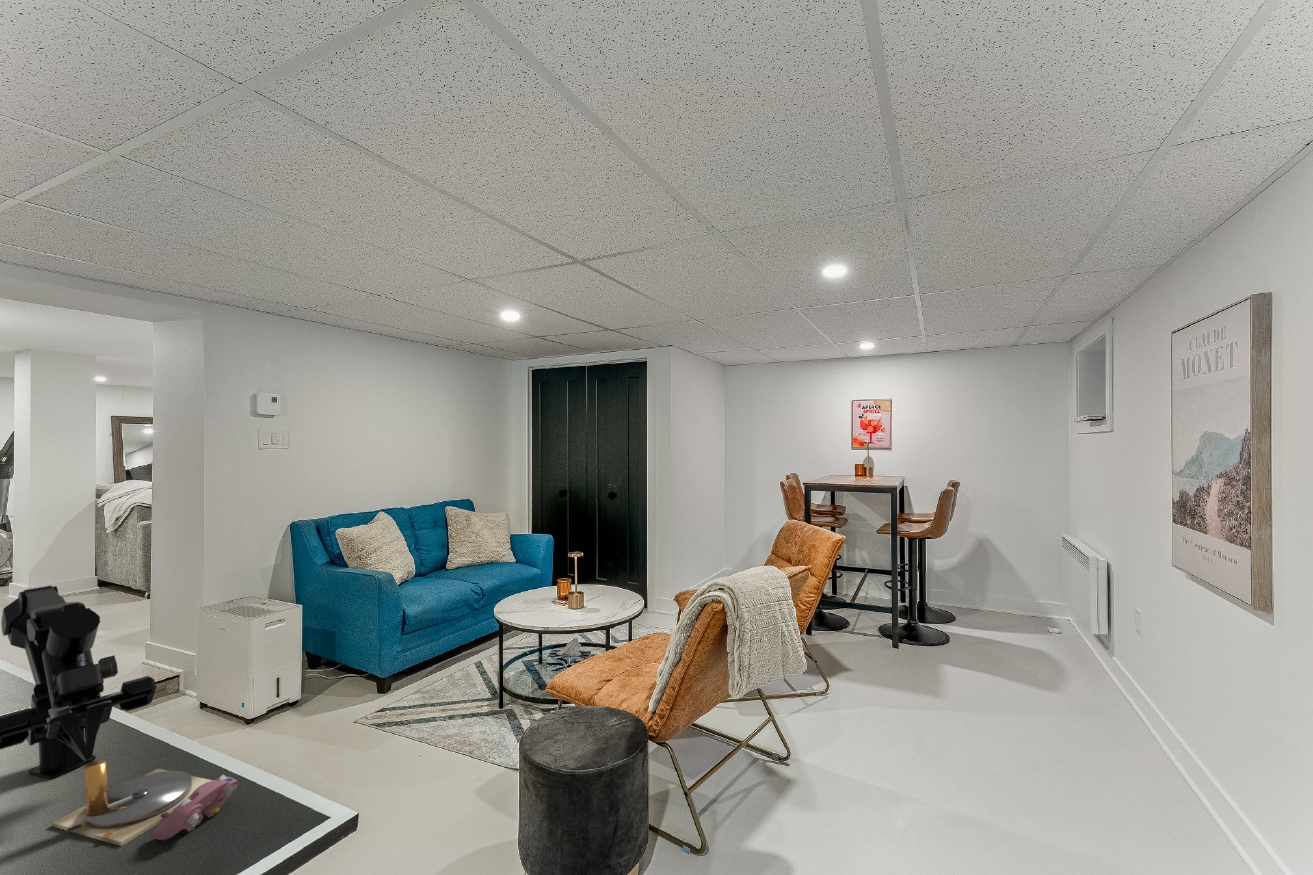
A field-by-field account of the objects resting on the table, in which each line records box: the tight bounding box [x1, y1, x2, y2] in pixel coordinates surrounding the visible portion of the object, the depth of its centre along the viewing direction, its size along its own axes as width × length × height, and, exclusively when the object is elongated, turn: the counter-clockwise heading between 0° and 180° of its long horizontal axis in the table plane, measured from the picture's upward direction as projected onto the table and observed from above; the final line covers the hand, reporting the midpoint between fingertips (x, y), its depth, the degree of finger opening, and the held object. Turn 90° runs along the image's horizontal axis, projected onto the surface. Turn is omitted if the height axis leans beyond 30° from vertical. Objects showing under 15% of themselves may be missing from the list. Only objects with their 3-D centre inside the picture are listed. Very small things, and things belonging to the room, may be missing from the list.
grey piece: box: [84, 759, 192, 828], centre depth 95 cm, size 13×13×8 cm
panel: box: [51, 768, 214, 847], centre depth 94 cm, size 16×15×1 cm
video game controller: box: [154, 774, 240, 841], centre depth 91 cm, size 10×5×7 cm, turn 169°
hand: (88, 759), depth 93 cm, fingers closed
